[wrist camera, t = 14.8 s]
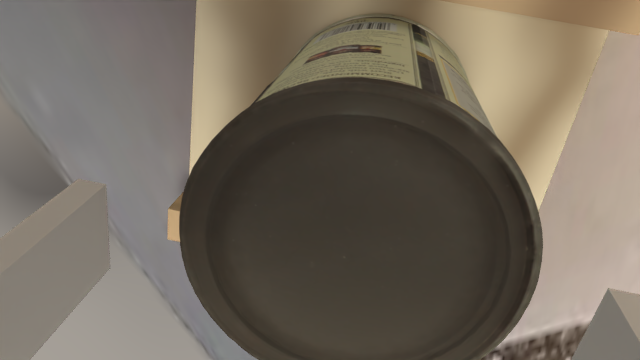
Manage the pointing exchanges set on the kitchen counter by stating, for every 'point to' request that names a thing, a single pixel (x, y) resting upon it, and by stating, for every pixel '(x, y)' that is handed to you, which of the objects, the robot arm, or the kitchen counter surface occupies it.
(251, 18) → the cradle
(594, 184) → the kitchen counter surface
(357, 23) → the coffee can
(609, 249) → the kitchen counter surface
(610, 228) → the kitchen counter surface
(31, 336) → the robot arm
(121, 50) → the kitchen counter surface
